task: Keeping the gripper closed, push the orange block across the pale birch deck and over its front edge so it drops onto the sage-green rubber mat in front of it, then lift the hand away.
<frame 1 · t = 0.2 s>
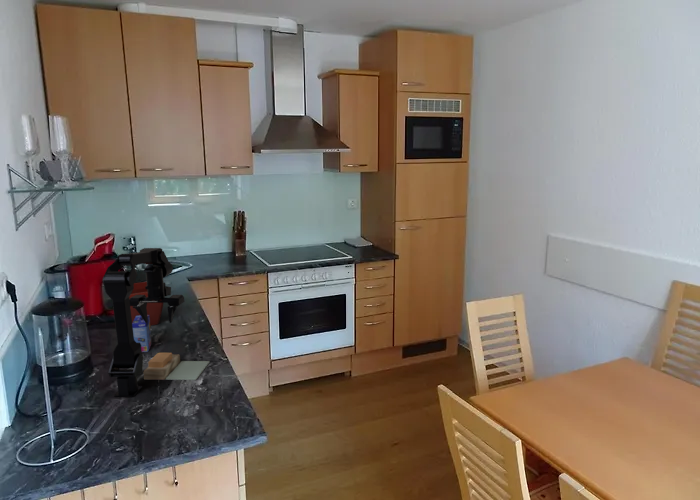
hand: (158, 322, 181), 14 cm above the counter, tool pointing down, fingers open, 9 cm apart
birch deck: (163, 370, 173), on the counter
orange block: (160, 362, 173), point 3 cm above the counter, touching birch deck
sage mat: (188, 370, 173), on the counter
ink cartridge box: (143, 348, 194), on the counter
plant pot: (142, 323, 222), on the counter
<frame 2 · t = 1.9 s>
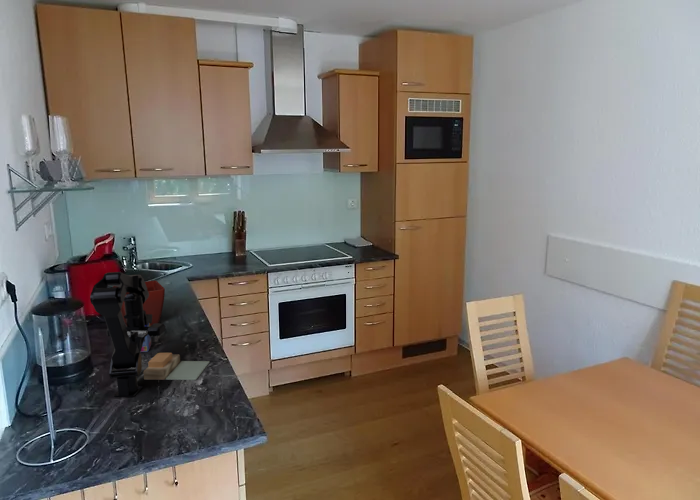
hand: (138, 352, 172), 7 cm above the counter, tool pointing down, fingers closed
nothing on the counter moved.
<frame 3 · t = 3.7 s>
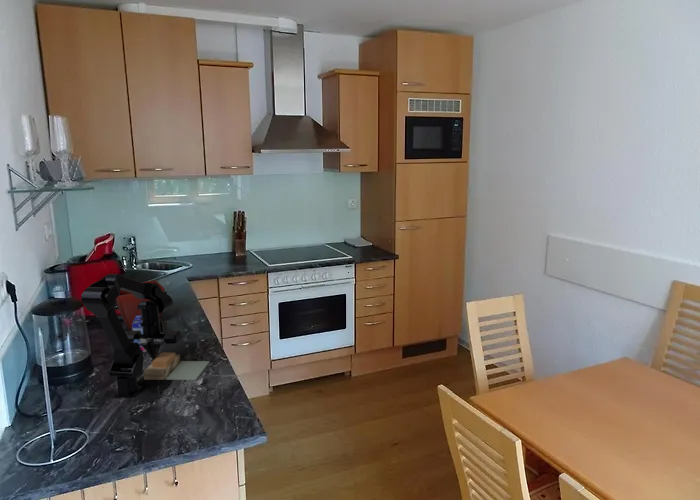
hand: (154, 359, 173), 4 cm above the counter, tool pointing down, fingers closed
orange block: (164, 362, 173), point 3 cm above the counter, touching birch deck, gripper
everything else where it was.
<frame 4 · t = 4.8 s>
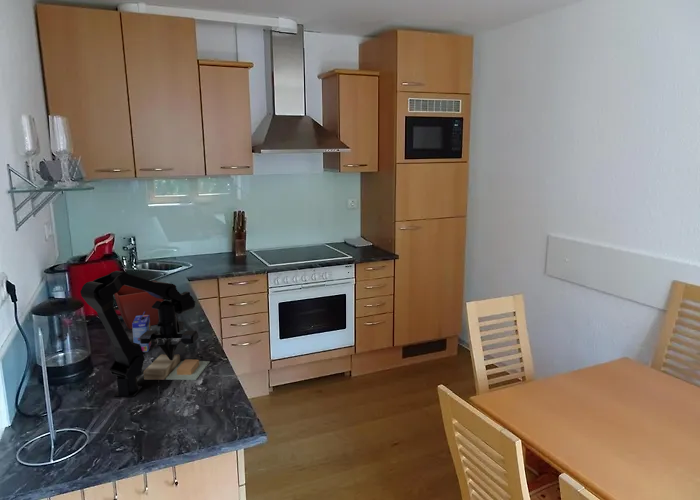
hand: (171, 359, 173), 4 cm above the counter, tool pointing down, fingers closed
orange block: (188, 364, 173), point 2 cm above the counter, tilted 180°, touching sage mat
everything else where it was.
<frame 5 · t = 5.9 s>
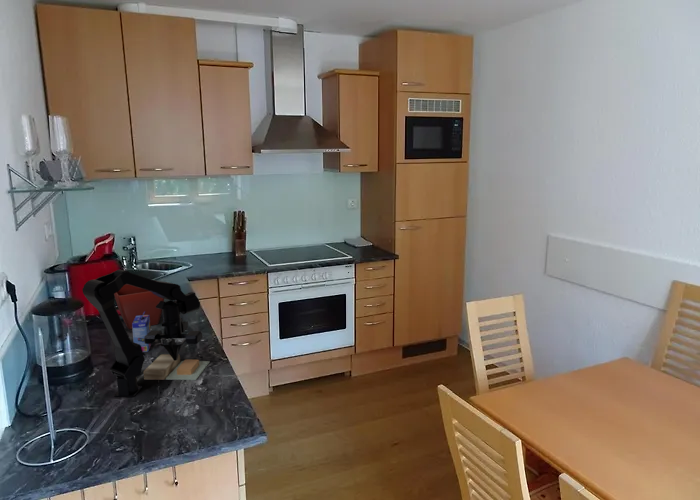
hand: (175, 360, 172), 4 cm above the counter, tool pointing down, fingers closed
nothing on the counter moved.
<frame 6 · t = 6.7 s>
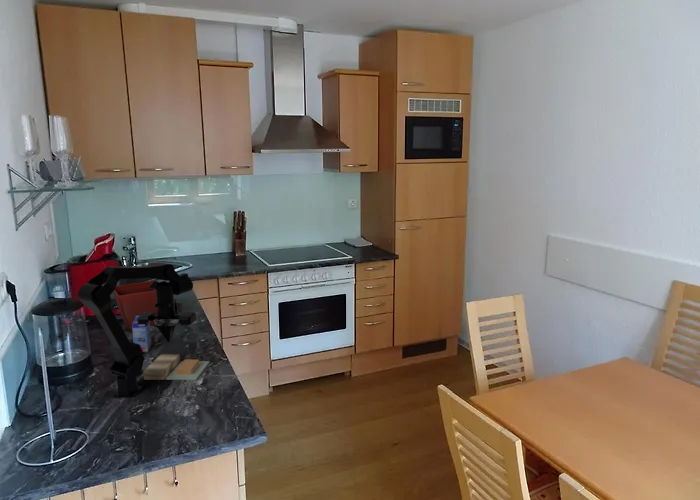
hand: (169, 341, 171), 11 cm above the counter, tool pointing down, fingers closed
nothing on the counter moved.
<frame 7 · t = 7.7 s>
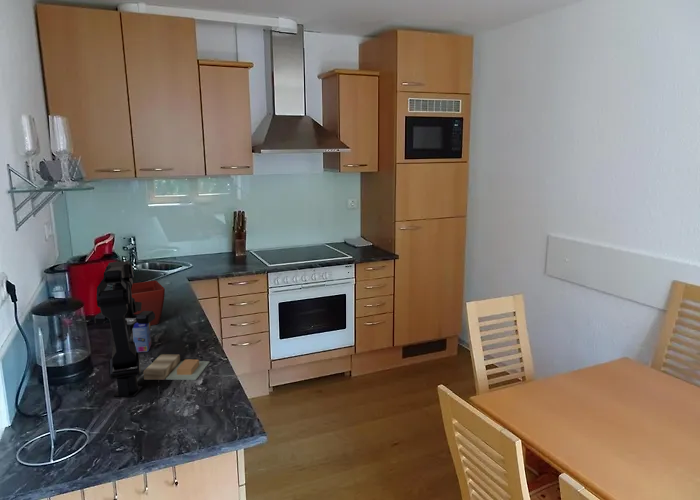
hand: (127, 340, 170), 12 cm above the counter, tool pointing down, fingers closed
nothing on the counter moved.
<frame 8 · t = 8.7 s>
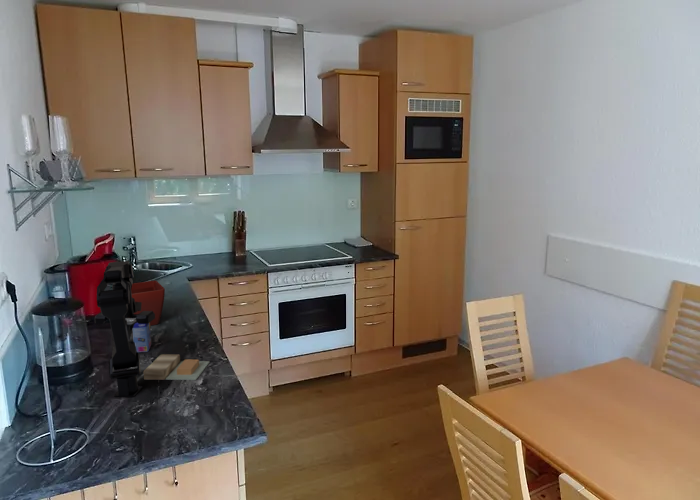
hand: (127, 340, 170), 12 cm above the counter, tool pointing down, fingers closed
nothing on the counter moved.
at the end: orange block point 2.4 cm above the counter; orange block inside the target area on the sage mat (0.0 cm from its centre), point 2.4 cm above the sage mat's base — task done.
